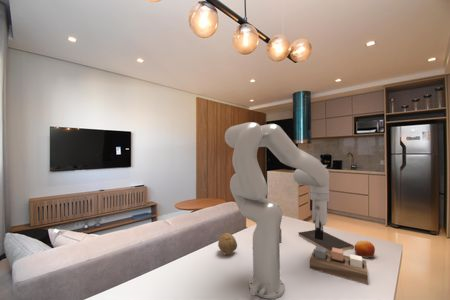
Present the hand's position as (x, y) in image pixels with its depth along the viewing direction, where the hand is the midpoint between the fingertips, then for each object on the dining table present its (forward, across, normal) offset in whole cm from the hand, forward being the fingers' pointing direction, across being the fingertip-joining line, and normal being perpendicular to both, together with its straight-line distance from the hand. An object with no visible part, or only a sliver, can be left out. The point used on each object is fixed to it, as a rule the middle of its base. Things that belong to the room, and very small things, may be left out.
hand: (319, 238), depth 88 cm
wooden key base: (+11, +1, -7) cm, 13 cm away
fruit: (+10, +20, -17) cm, 28 cm away
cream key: (+8, +1, -14) cm, 16 cm away
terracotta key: (+7, +1, -7) cm, 10 cm away
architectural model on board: (+12, +9, +25) cm, 29 cm away
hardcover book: (+11, +27, +1) cm, 29 cm away
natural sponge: (+12, -13, +39) cm, 43 cm away
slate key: (+8, +1, -1) cm, 8 cm away
